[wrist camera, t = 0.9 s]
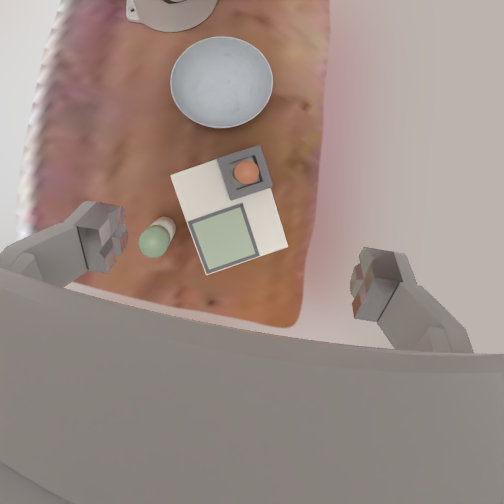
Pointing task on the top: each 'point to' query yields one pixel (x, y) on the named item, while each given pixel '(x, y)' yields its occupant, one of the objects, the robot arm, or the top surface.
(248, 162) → the button
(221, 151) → the top surface
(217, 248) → the white board
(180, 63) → the chinaware
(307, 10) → the top surface
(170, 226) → the marker
